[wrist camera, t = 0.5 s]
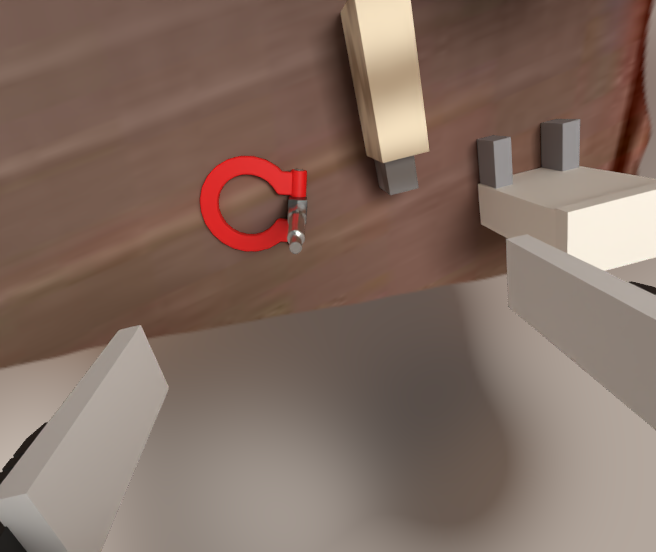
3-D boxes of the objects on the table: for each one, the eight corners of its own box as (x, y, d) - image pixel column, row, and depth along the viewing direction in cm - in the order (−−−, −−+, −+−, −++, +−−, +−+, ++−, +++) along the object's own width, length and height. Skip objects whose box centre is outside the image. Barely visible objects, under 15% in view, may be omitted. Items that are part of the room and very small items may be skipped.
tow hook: (205, 245, 37) (304, 250, 38) (158, 305, 25) (305, 310, 26) (200, 152, 34) (308, 159, 35) (145, 168, 22) (312, 178, 23)
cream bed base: (469, 141, 35) (568, 154, 23) (563, 117, 36) (710, 117, 23) (477, 228, 39) (567, 280, 27) (563, 206, 39) (691, 247, 27)
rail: (340, 12, 31) (353, -10, 25) (384, 1, 31) (407, -24, 25) (372, 188, 36) (389, 201, 31) (410, 179, 36) (434, 190, 31)
